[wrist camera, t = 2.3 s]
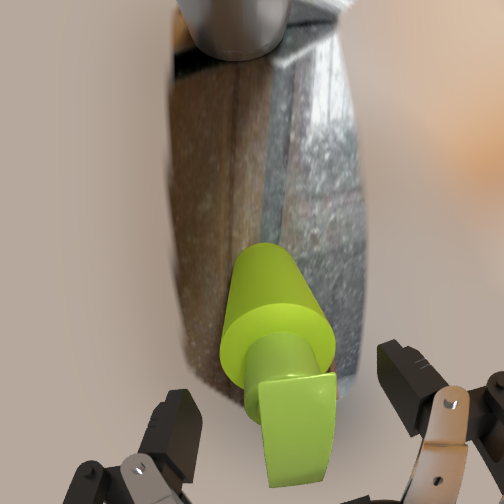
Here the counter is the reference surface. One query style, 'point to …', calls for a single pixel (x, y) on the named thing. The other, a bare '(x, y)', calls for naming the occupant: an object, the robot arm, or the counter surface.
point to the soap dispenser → (281, 363)
